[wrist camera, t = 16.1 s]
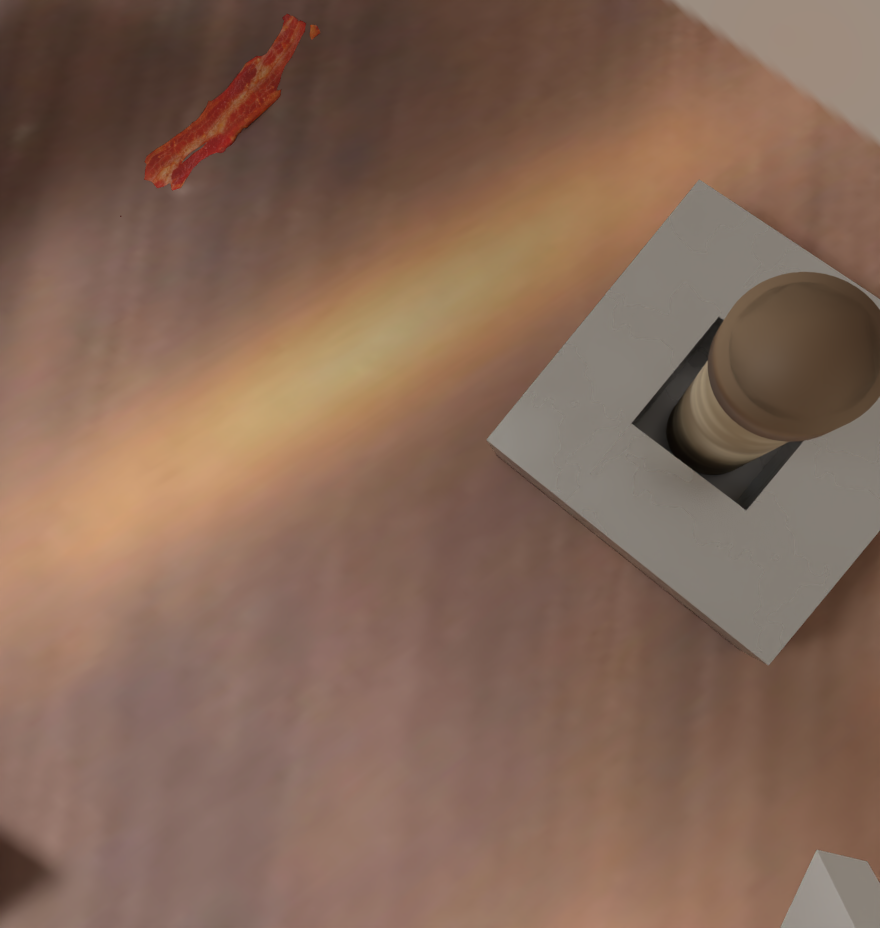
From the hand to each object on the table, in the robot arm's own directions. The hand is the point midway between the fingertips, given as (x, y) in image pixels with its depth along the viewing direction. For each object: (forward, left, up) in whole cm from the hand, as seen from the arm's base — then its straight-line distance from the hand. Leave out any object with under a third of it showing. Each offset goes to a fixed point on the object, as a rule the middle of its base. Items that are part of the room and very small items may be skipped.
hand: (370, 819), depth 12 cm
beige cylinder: (+1, +14, -24) cm, 28 cm away
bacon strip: (-29, +11, -25) cm, 40 cm away
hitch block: (+1, +14, -25) cm, 28 cm away
